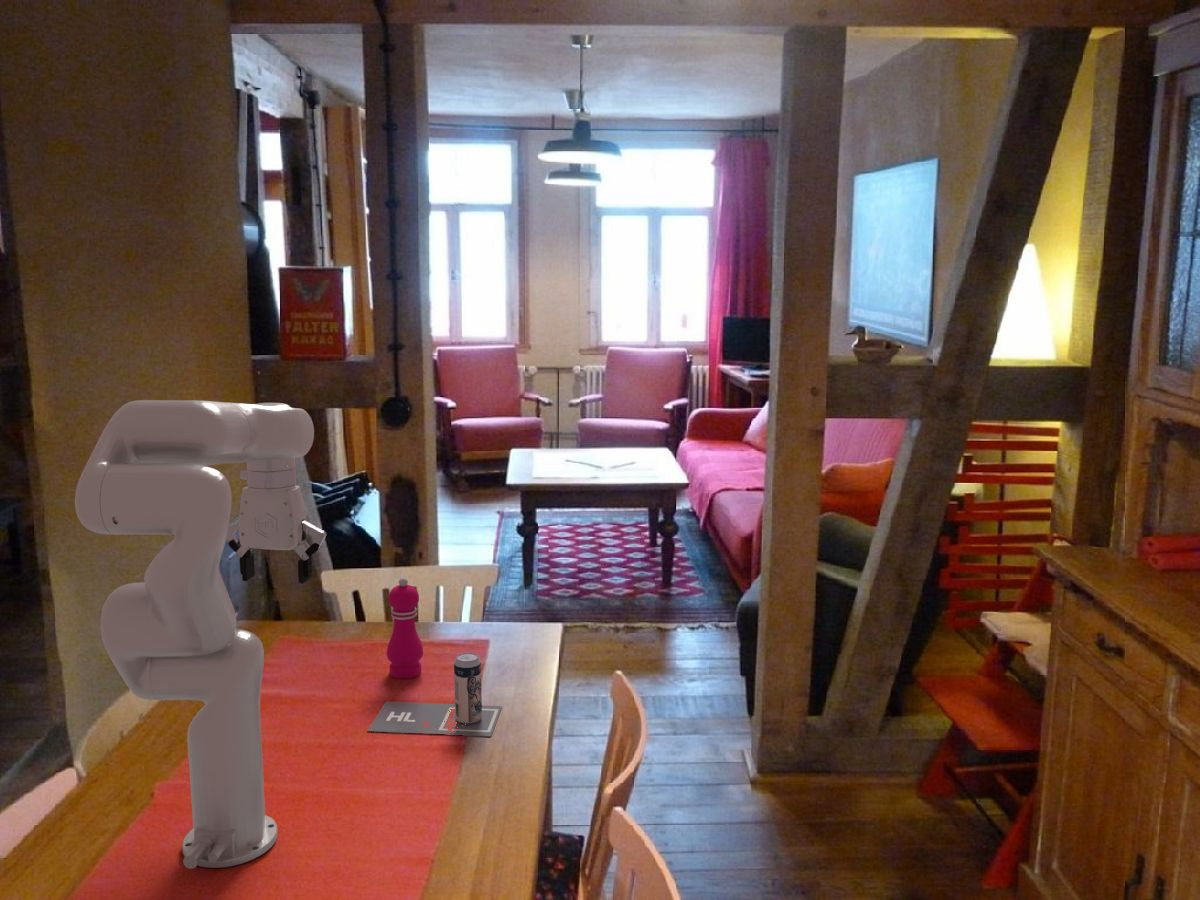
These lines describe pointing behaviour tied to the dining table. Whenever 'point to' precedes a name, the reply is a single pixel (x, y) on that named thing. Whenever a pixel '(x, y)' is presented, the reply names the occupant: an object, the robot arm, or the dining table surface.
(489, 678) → the dining table surface
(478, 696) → the beer can
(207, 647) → the robot arm
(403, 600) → the pepper mill
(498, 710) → the slate board
